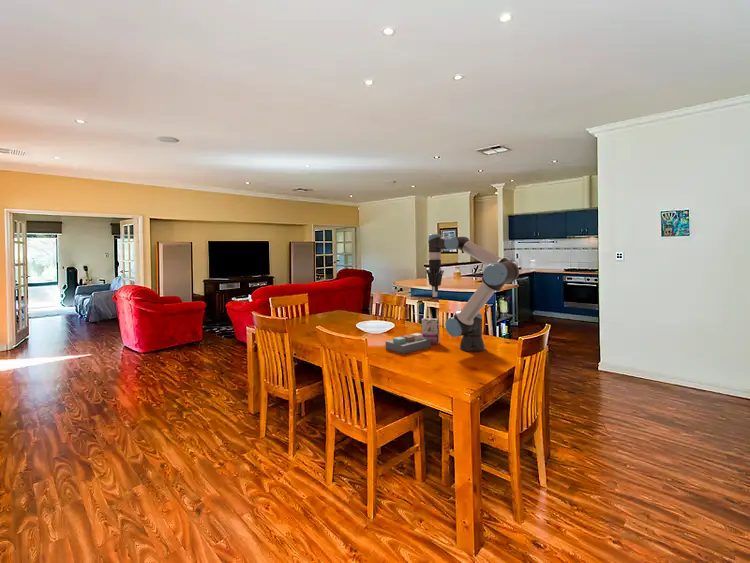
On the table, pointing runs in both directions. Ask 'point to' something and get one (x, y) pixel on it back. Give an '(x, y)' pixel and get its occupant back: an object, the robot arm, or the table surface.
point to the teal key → (399, 340)
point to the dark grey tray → (408, 346)
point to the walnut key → (409, 338)
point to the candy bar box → (430, 329)
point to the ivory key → (417, 336)
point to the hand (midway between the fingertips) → (435, 296)
